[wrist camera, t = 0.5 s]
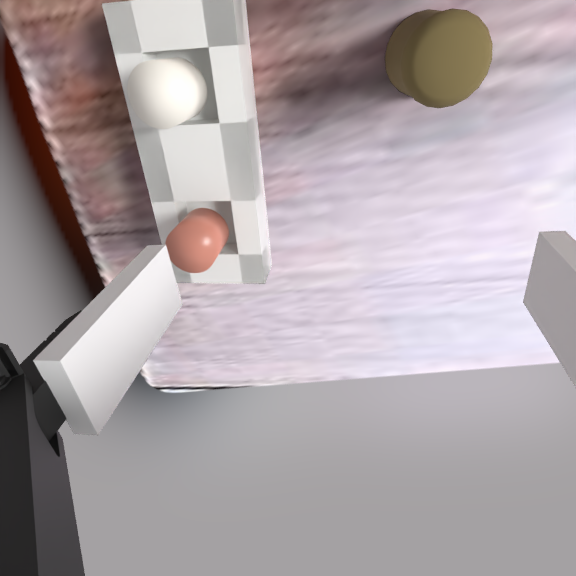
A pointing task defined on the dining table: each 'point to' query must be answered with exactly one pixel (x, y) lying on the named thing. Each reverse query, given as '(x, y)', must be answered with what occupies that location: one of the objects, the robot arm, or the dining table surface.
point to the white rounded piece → (166, 92)
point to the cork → (439, 56)
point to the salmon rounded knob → (197, 240)
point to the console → (201, 127)
